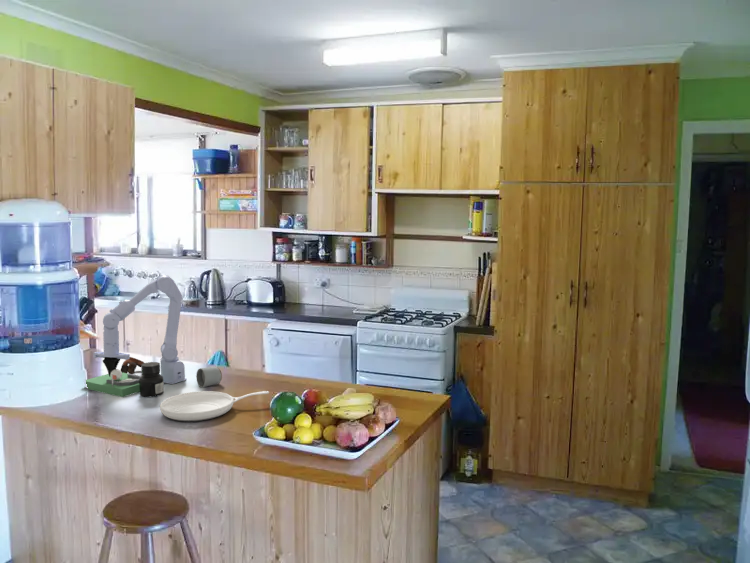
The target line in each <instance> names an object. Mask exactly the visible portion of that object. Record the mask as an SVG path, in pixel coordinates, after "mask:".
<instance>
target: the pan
mask: <svg viewBox="0 0 750 563" xmlns="http://www.w3.org/2000/svg"><path fill="white" fill-rule="evenodd" d="M269 393H270V391H268V390H262V391H256V392H250V393H248V394H244V395H242V396H241V395H240V396H237V397H236V396H232V395H230V394H228V393H226V392H220V391H212V390H211V391H210V390H209V391H207V390H204V391H203V390H202V391H192V392H184V393H180V394H176V395H173V396H170V397H167V398H166V399H164V400H162V402H161V403H160V405H159V409H160V411H161V414H163V415H164V416H165V417H166V418H169V419H170V420H172V421H173V420H174V421H179V422H199V421H207V420H212V419H214V418H218V417H221V416H222V415H224V414H227V412H229V411H230V410H231V409H232V408H233V405H234V403H237V402H238V401H240V400H243V399H245V398H248V397H251V396H258V395H269Z"/></svg>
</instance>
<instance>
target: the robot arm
mask: <svg viewBox="0 0 750 563" xmlns="http://www.w3.org/2000/svg"><path fill="white" fill-rule="evenodd" d="M159 292H162V293H163V294H164V295H166V296H167V297H168V299H169V306H168V313H167V319H166V320H167V321H166V328H165V334H164V335H165V336H164V340H163V344H162V345H161V346H160V353H161V356H162V357H161V358H160V362H159V363H160V375H162V376H163V382H164V383H165V384H168V385H169V384H170V385H175V384H176V383H180V382H183V381H187V378H186V372H185V371H186V370H185V364H184V362H183V361H180V359H179V356H178V354H179V352H178V349H177V344H178V343H177V342H178V339H177V337H178V330H179V324H180V323H179V322H180V318H181V317H180V316H181V308H182V302H183V294H182V293H181V291H180V289H179V287H178V286H177V284H176V282H175V280H174V279H173V278H172V277H171V276H169V275H168V274H161V275H159V276H157V278H154V279H153V280H151V281H150V282H148V283H147V284H146V285H145V286H144V287H142V288H141V289H140V290H139V291H138V292H137V293H136V294H135V295H133V296H132V297H131V298H130V299H123V300H120V301H119V302H118V305H117V306H115V307H114V308H113V309H112V308H111V309H110V310H109V312H107V313H105V315H104V316H103V318H102V324H103V332H102V334H103V338H102V339H103V351H95V352H93V353H92V354H93V359H94V358H95V359H96V358H100V359H101V358H102V363H103V364H104V366H105V368H106V370H107V374H109V376H110V374H111V372H112V371H113V370H114V369H118V368H117V367H118V365H119V363H120V361H121V360H124V361H125V360H128V359H130V357H131V356H130V353H124V352H120V330H119V324H120V322H121V321H123V320H125V319H126V318H127V317H129V315H131V314H132V313H133V312H134V311H135V309H136V306H137V305H138V304H140V303H141V302H142V301H143V300H145V299H146V298H147V297H148V296H150V295H151V294H157V293H159Z"/></svg>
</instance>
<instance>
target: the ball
mask: <svg viewBox="0 0 750 563" xmlns="http://www.w3.org/2000/svg"><path fill="white" fill-rule="evenodd" d="M111 374H113V375H116V376H117V380H119V379H120V378H121V377H122V372H121V369H118V368H116V369H114V370H113V371H112V372H111ZM111 374H110V376H111ZM111 378H112V376H111ZM113 380H115V379H113Z"/></svg>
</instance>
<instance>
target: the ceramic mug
mask: <svg viewBox="0 0 750 563" xmlns="http://www.w3.org/2000/svg"><path fill="white" fill-rule="evenodd" d="M195 377H196V382H197V384H198V386H199V387H200V388H206V387H211V386H215V385H218V384H220V383H221V381H222V378H223V373H222V371H221V369H220V367H217V366H211V367H201V368H198V369H197V371H196V375H195Z"/></svg>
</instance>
